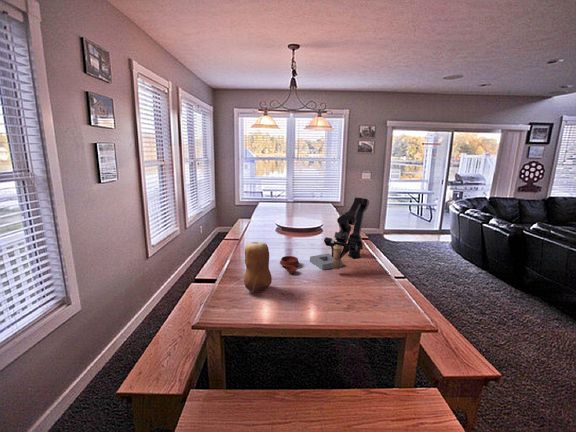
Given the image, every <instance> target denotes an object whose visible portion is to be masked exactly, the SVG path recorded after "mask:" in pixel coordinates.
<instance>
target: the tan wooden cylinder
mask: <svg viewBox="0 0 576 432" xmlns="http://www.w3.org/2000/svg"><path fill="white" fill-rule="evenodd" d="M342 250H343V246H340V245H335V246H334V251H333V266H332V268H331V269H334V270H340V269H341V267H342V266H341V261H342V258H341V259H340V255H341V253H342ZM340 266H341V267H340Z"/></svg>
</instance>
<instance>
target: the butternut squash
mask: <svg viewBox="0 0 576 432" xmlns="http://www.w3.org/2000/svg"><path fill="white" fill-rule="evenodd" d="M244 264H245V266H246V267H245V268H246V269H245V271H244V275H243V283H244V287H245V288H246V289H247V290H248V291H250V292H252V293H262V292H264V291H265V290H267V289H268V288H269V287H270V286H271V284H272V282H273V279H272V273H271V271H270V251H269V246H268V244H267V243H266V242H264V241H249V242H247V243H246V244H245V247H244Z"/></svg>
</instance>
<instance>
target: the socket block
mask: <svg viewBox="0 0 576 432" xmlns="http://www.w3.org/2000/svg"><path fill="white" fill-rule="evenodd" d="M309 263H311V264H312V265H314V266H315V265H316V267H317V268H318V267H319V268H318V269H320V270H321V269H322V270H321V271H325V270H324V269H326V270H330V268H331V269H333V268H332V266H333V257H332V253H331V254H330V253H323V254H317V255H316V254H315V255H311V256H309ZM342 265H343V260H341V266H340V268H341V267H343V266H342Z"/></svg>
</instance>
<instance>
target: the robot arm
mask: <svg viewBox="0 0 576 432" xmlns="http://www.w3.org/2000/svg"><path fill="white" fill-rule="evenodd" d="M369 206H370V200H369V199H368V198H363V197H354V199H353V202H352V205H351V207H350V208H349V210H348V211H346V212H345V213H344V214H342V215H340V216H338V217H337V218H336V219H337V220H336V221H337V225H338V227H339V228H340V230H339V231H335V232H334V239H333V238H332V237H327V236H325V238H324V239H323V242H324V244H325V246H327V247H330V248H331V255H332V257H333V251H334V246H335V245H339V246H342V252H341V255H340V259H341V260H342V258H343V257H344V256H345V255H346V254H347V257H349V258H352V259H353V260H354V259H360V258H362V256H361V250H364V249H363V248H364V244H363V241H362V236H361V231H362V225H363V221H364V214H365V212H366V211H367V210H368V207H369ZM352 226H353V230H352Z"/></svg>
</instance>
